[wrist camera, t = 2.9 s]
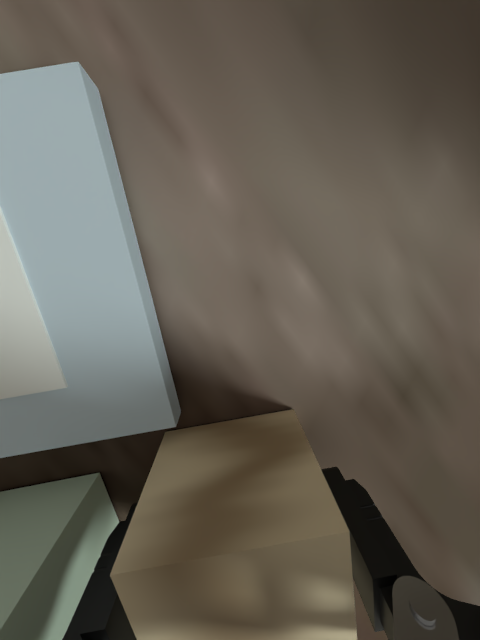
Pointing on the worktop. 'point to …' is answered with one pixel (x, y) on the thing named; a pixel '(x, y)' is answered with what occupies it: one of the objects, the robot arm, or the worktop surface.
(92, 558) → the sage block
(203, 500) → the maple block
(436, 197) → the worktop surface
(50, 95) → the board
